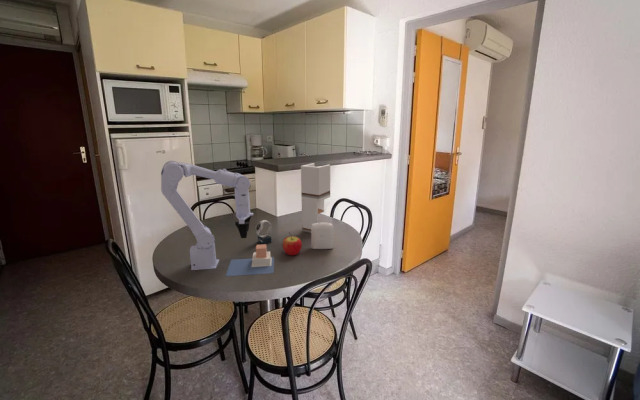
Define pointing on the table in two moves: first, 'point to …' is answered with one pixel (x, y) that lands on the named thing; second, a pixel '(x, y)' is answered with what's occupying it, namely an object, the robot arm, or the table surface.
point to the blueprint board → (248, 268)
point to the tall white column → (313, 193)
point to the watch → (263, 238)
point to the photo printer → (322, 235)
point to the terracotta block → (261, 251)
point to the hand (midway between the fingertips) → (244, 234)
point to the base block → (261, 260)
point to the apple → (292, 245)
